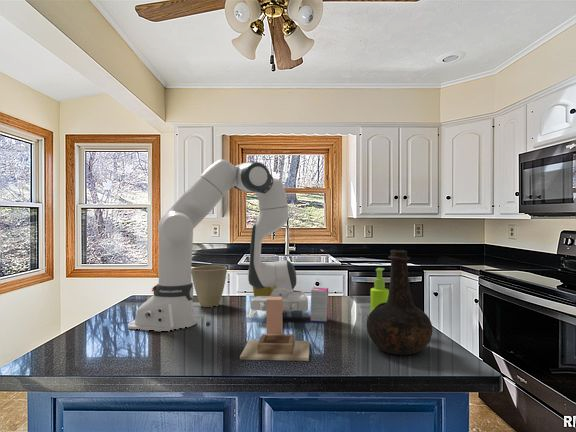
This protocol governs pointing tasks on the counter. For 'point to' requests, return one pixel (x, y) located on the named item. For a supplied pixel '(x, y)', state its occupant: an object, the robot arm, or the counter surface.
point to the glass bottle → (399, 315)
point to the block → (274, 315)
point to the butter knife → (252, 313)
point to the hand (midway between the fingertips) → (277, 308)
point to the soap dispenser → (378, 290)
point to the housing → (276, 348)
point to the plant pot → (209, 284)
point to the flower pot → (263, 291)
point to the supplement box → (319, 305)
